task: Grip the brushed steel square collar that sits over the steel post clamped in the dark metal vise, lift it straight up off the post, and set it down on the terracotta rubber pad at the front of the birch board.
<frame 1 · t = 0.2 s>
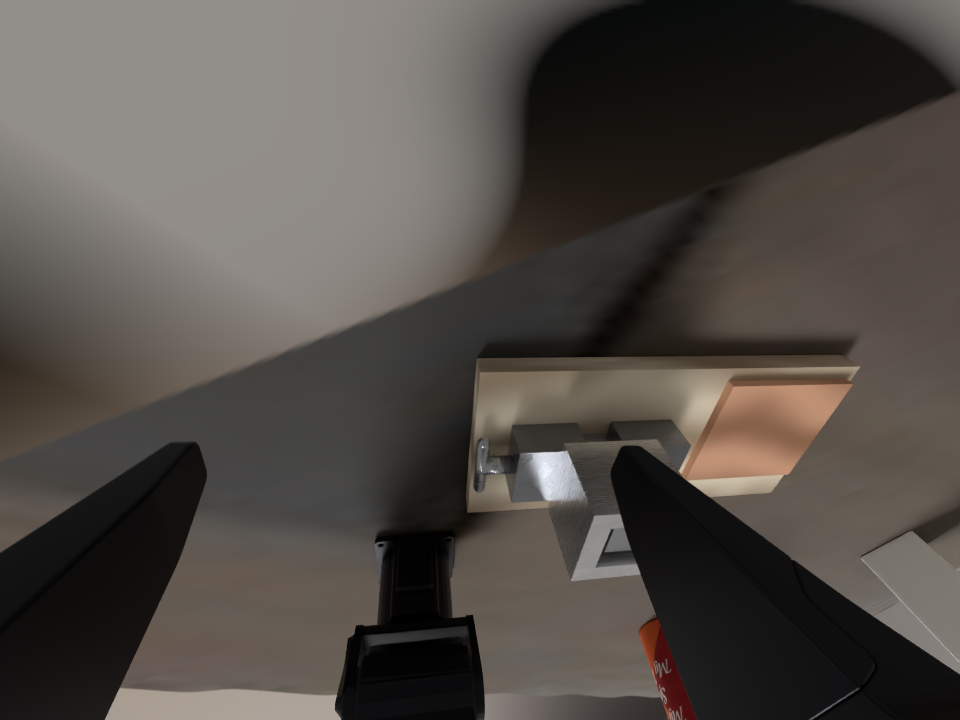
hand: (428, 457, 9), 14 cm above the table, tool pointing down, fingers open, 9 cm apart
milk: (891, 549, 48), on the table
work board: (643, 429, 30), on the table
steel collar: (599, 474, 26), point 4 cm above the table, touching bench vise
bench vise: (579, 431, 30), resting on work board
paper cup: (659, 625, 51), on the table
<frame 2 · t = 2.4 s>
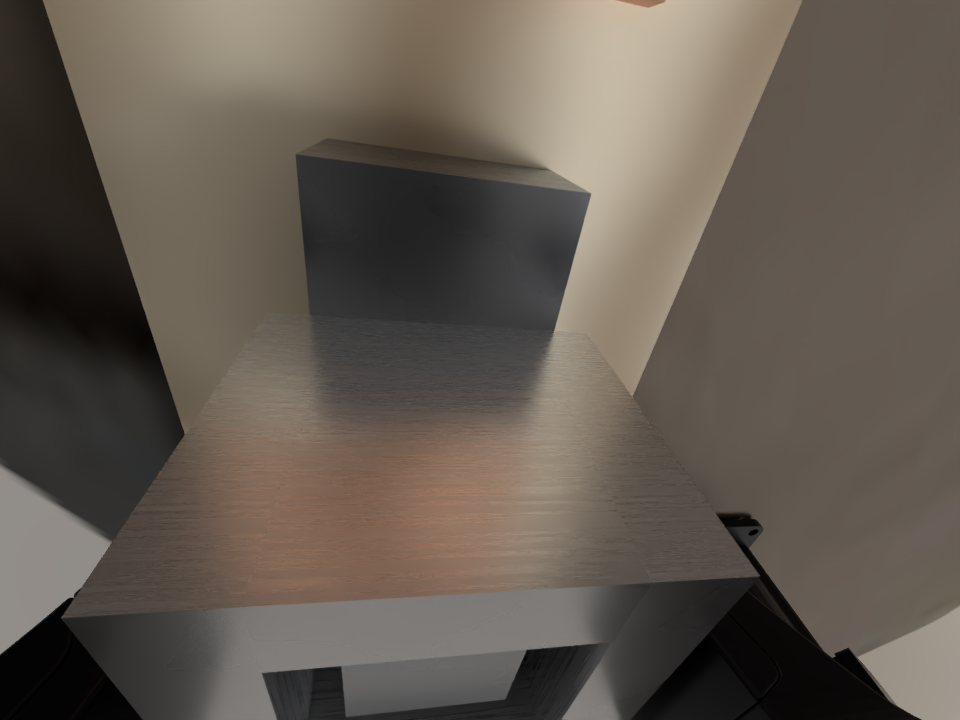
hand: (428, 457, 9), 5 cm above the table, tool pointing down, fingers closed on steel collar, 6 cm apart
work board: (438, 174, 10), on the table
steel collar: (427, 440, 9), point 4 cm above the table, touching bench vise, gripper
bench vise: (424, 348, 13), resting on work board
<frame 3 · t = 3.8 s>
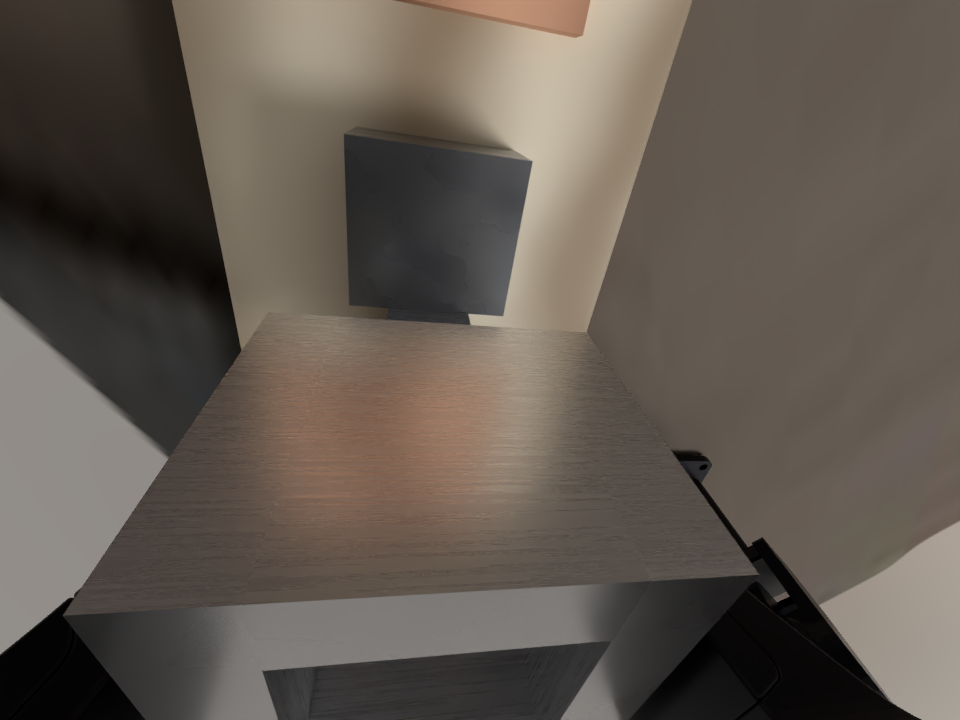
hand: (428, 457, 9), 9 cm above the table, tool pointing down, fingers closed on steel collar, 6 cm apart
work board: (434, 154, 14), on the table
steel collar: (427, 439, 9), point 8 cm above the table, touching gripper
bench vise: (424, 293, 16), resting on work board
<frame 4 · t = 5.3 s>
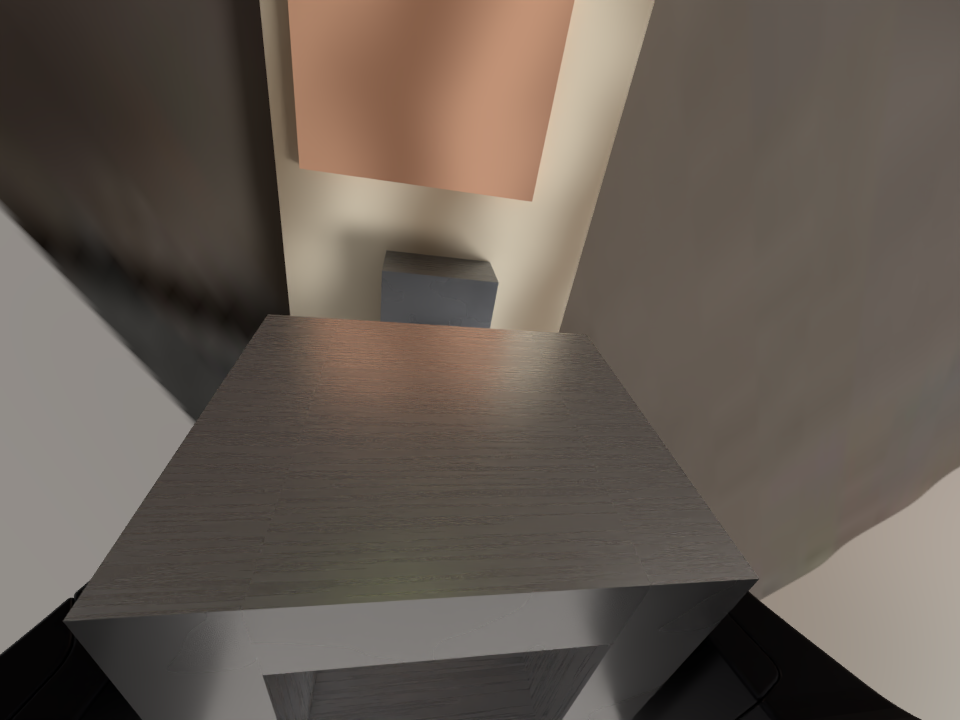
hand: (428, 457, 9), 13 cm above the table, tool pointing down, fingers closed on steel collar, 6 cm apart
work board: (436, 258, 20), on the table
steel collar: (427, 441, 9), point 12 cm above the table, touching gripper
bench vise: (427, 347, 22), resting on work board
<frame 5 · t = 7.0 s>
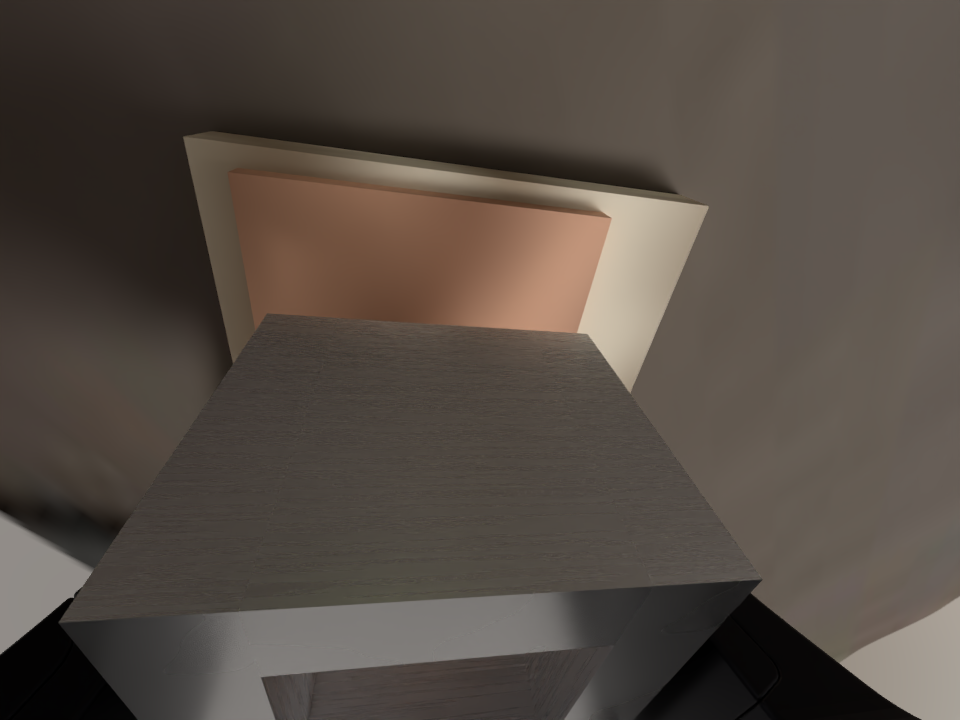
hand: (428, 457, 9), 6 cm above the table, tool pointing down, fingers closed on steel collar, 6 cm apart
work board: (433, 483, 18), on the table
steel collar: (427, 441, 9), point 5 cm above the table, touching gripper
when the fingers open (4 cm above the table, at t = 8.3 s): steel collar drops 1 cm, resting on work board.
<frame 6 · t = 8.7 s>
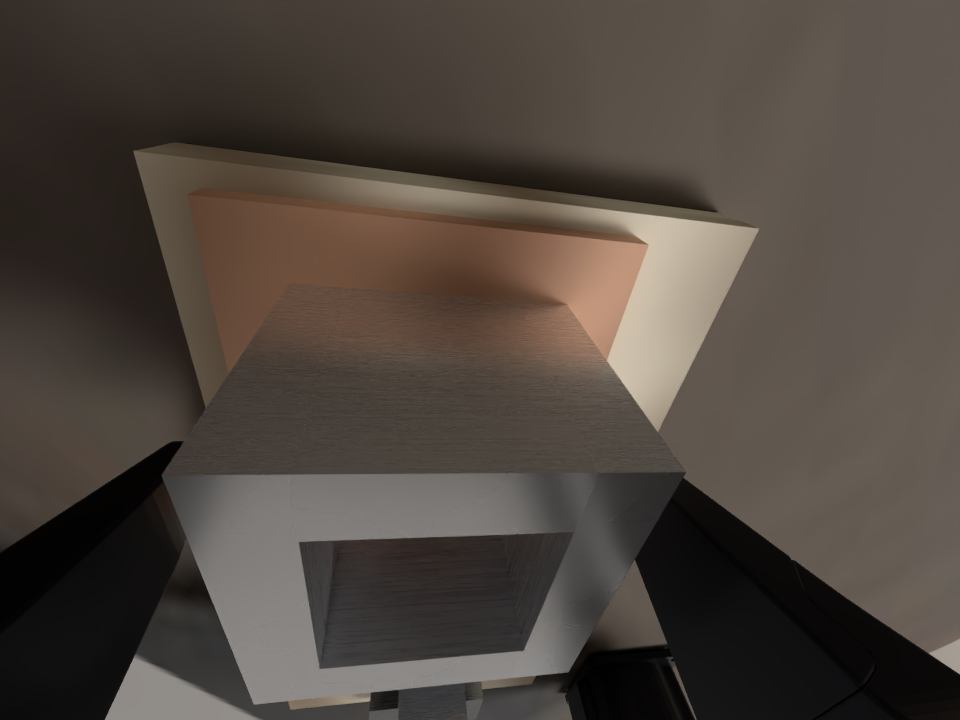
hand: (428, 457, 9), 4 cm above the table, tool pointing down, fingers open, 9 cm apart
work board: (436, 523, 17), on the table
steel collar: (427, 402, 10), point 2 cm above the table, touching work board
bench vise: (427, 589, 19), resting on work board
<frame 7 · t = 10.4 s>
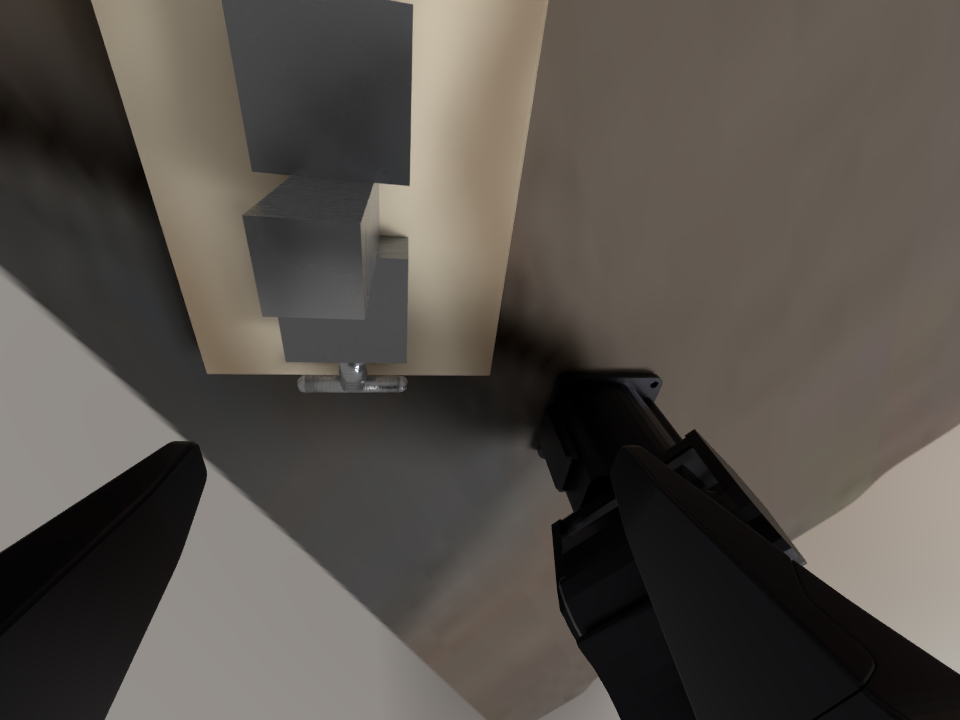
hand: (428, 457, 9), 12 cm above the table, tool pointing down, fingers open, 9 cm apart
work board: (341, 34, 14), on the table
bench vise: (350, 191, 16), resting on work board
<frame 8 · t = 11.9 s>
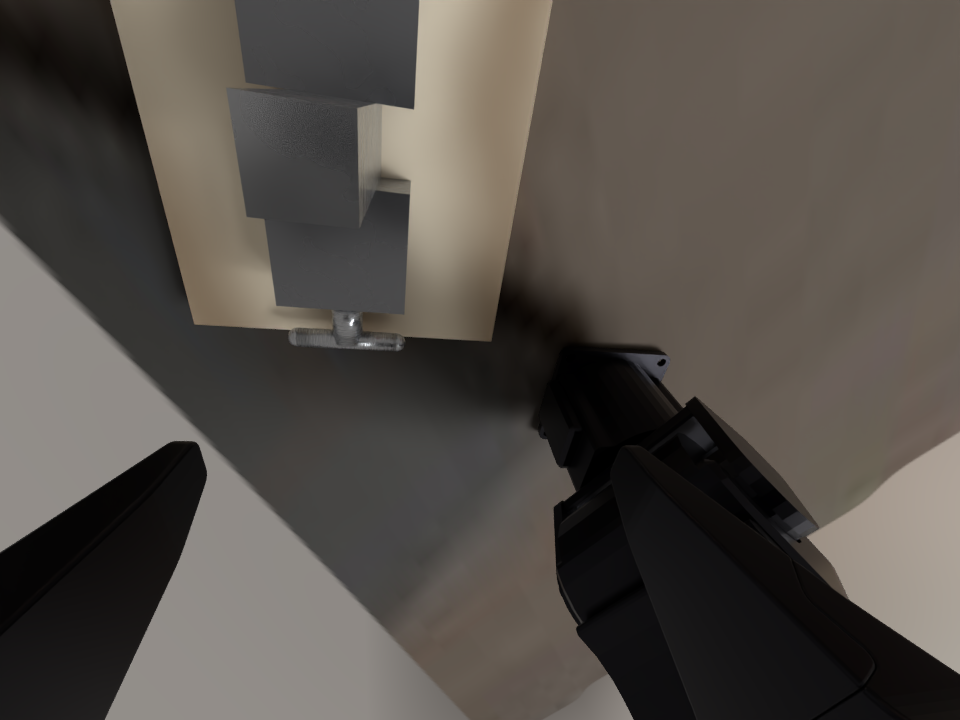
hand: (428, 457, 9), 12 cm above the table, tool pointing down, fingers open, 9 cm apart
bench vise: (352, 132, 16), resting on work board
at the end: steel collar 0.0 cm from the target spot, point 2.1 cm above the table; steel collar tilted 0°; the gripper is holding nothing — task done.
